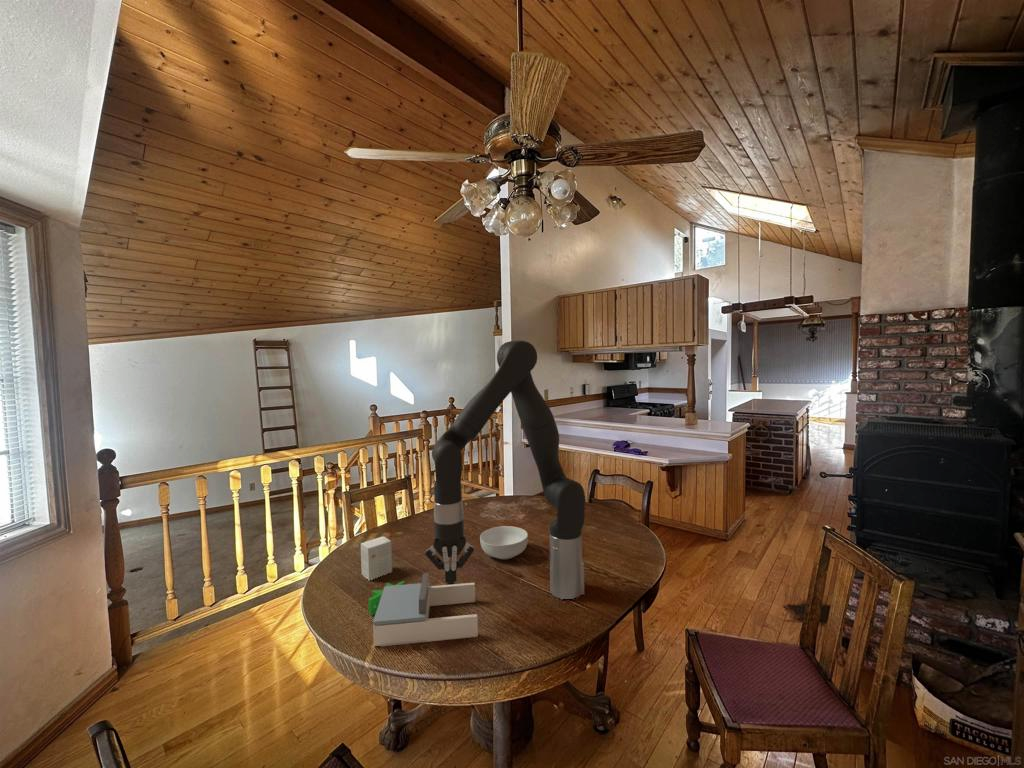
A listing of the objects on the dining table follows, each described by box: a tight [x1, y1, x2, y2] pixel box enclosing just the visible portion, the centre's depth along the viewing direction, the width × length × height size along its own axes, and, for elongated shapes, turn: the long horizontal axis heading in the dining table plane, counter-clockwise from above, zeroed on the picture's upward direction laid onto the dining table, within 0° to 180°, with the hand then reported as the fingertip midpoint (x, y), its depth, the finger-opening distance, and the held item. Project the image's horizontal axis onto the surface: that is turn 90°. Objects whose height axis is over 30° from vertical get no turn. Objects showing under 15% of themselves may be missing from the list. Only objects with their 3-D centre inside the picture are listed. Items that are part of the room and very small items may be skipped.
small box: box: [360, 535, 393, 582], centre depth 131 cm, size 8×6×10 cm
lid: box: [372, 572, 430, 626], centre depth 105 cm, size 12×16×4 cm
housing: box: [372, 582, 479, 647], centre depth 106 cm, size 24×16×5 cm, turn 98°
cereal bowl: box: [479, 525, 529, 560], centre depth 144 cm, size 17×17×7 cm
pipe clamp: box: [367, 580, 406, 617], centre depth 114 cm, size 11×4×5 cm, turn 143°
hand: (451, 582), depth 107 cm, fingers closed
